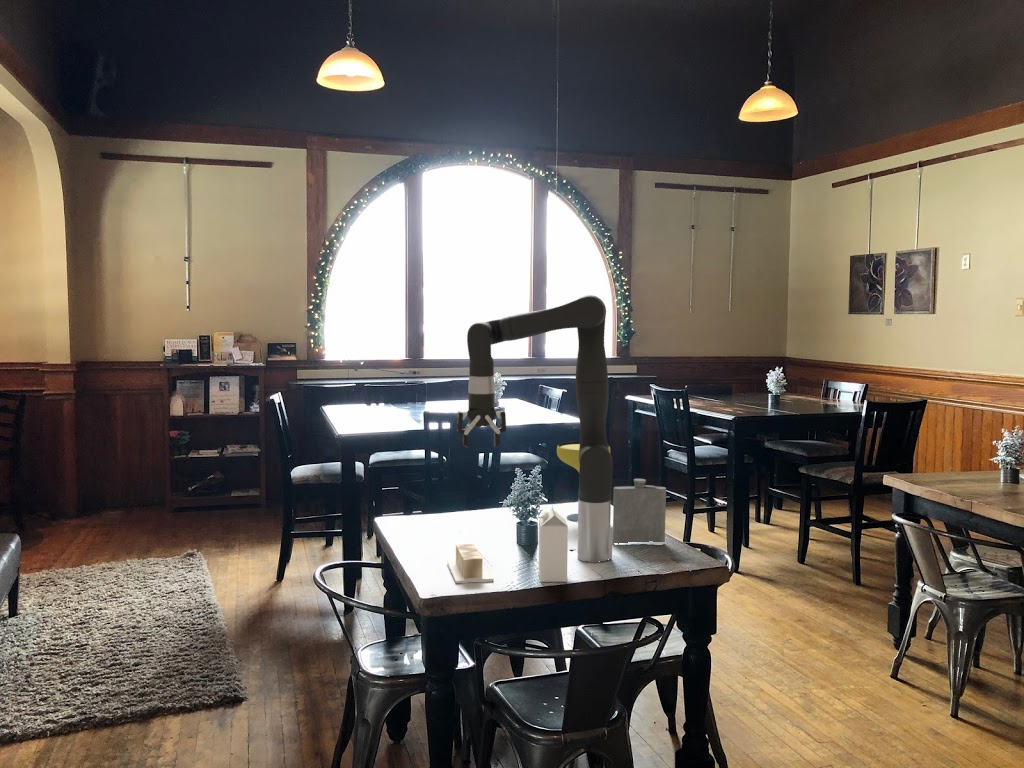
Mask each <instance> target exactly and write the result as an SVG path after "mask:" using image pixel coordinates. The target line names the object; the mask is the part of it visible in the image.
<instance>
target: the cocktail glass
mask: <svg viewBox="0 0 1024 768" xmlns="http://www.w3.org/2000/svg"><path fill="white" fill-rule="evenodd" d="M579 448H580V441H568V442H562V443H558V444H557V447H556V455H557V457H558V459H559V460H561V462H563V463H564V464H566V465H567V466H570V467H572V468H574V469H575V470H576V471H577V472H578V473H579V472H580V464H579V459H578V458H579ZM608 449H609V452H610V453H611V446H610V445H609V444H608ZM566 519H567V520H568V519H569V521H572V522H575V521H578V513H571V514H569V515H567V516H566Z"/></svg>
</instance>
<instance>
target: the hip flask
mask: <svg viewBox="0 0 1024 768" xmlns="http://www.w3.org/2000/svg"><path fill="white" fill-rule="evenodd" d="M646 482H647V480H646V479H644V478H634V479H633V483H634V485H632V486H631V485H630V486H614V487H613V509H612V510H613V512H612V513H613V515H612V516H613V517H612V528H613V532H612V544H613V543H618V544H619V543H628V542H649V541H653V542H666V506H667V504H666V501H667V487H665V486H656V485H646V484H645V483H646Z"/></svg>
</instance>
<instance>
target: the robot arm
mask: <svg viewBox="0 0 1024 768" xmlns="http://www.w3.org/2000/svg"><path fill="white" fill-rule="evenodd" d="M606 316H607V308H606V304H605V303H604V301H603V300H602V299H601V298H600V297H598V296H595V295H591V294H588V295H587V294H586V295H582V296H580V297H579V298H577V299H575V300H572V301H569V302H567V303H565V304H562V305H558V306H555V307H551V308H546V309H539V310H535V311H527V312H523V313H517V314H512V315H508V316H506V317H502V318H499V319H494V320H487V321H481V322H475V323H473V324H471V325H470V327H469V328H468V330H467V337H466V343H467V344H466V345H467V351H468V352H467V353H468V358H469V368H468V369H469V372H468V373H469V376H468V377H469V378H468V379H469V380H468V389H467V391H468V410H467V412H463V411H458V412H457V416H456V417H457V418H456V432H457V433H458V434H461V435H462V444H463V446H464V447H465V448H467V449H468V448H469V447H470V445H469V443H470V442H469V441H470V439H469V437H470V436H469V433H470V432H471V430H473V428H474V427H476V428H480V427H485V428H486V427H488V426H490V428H491V430H493V432H494V433H493V447H495V448H497V447H498V446H499V445H500V443H501V441H500V438H501V437H500V436H501V433H504V432H506V431H507V422H506V421H507V420H506V416H507V415H506V412H505V411H504V410H500V411H496V410H495V393H496V392H495V386H496V385H495V377H494V376H495V374H494V373H495V371H494V370H495V369H494V368H495V365H494V364H495V362H494V359H493V357H492V345H496V344H499V343H503V342H509V341H516V340H522V339H526V338H531V337H534V336H538V335H541V334H545V333H548V332H552V331H558V330H564V329H574V328H575V329H577V330H576V331H577V338H578V350H577V358H576V366H575V396H576V404H577V406H576V407H577V412H578V418H579V425H580V430H579V431H580V432H579V433H580V435H579V442H580V448H579V458H578V459H579V464H580V472H578V474H579V477H578V480H579V481H578V483H579V484H578V485H579V486H578V497H577V498H578V502H577V503H578V505H577V507H578V508H577V509H578V510H577V514H578V522H577V550H576V551H577V559H578V560H580V561H581V562H585V561H588V562H587V563H593V562H598V563H600V562H599V561H605V560H608V559H612V560H613V526H611V513H612V512H611V511H612V510H611V509H612V508H611V507H612V505H611V504H612V502H611V501H612V491H613V469H614V468H613V466H614V465H613V464H614V463H613V456H612V455H611V451H610V452H609V449H608V445H609V444H608V438H607V426H606V422H607V415H608V407H609V394H610V393H609V388H610V387H609V373H608V371H609V370H608V365H607V356H606V349H605V329H606V328H605V326H606V318H607V317H606ZM466 417H467V418H468V420H469V421H468V423H467V424H466V426H465V428H464V429H463V421H464V420H465V419H466ZM496 417H497V418H498V419H499V423H500V424H499V425H500V427H498V426H497V425H496V423H494V419H495V418H496ZM608 561H609V560H608ZM605 562H606V561H605Z"/></svg>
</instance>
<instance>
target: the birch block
mask: <svg viewBox="0 0 1024 768" xmlns="http://www.w3.org/2000/svg"><path fill="white" fill-rule="evenodd" d="M482 560H483V557H482V555H481V554H480V552H479V550H478V548H477V547H476V545H475V544H474V543H468V544H467V543H465V544H455V561H456V564H457V566H458V568H459V570H460V572H461V574H462V576H463V578H476V577H482Z"/></svg>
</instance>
